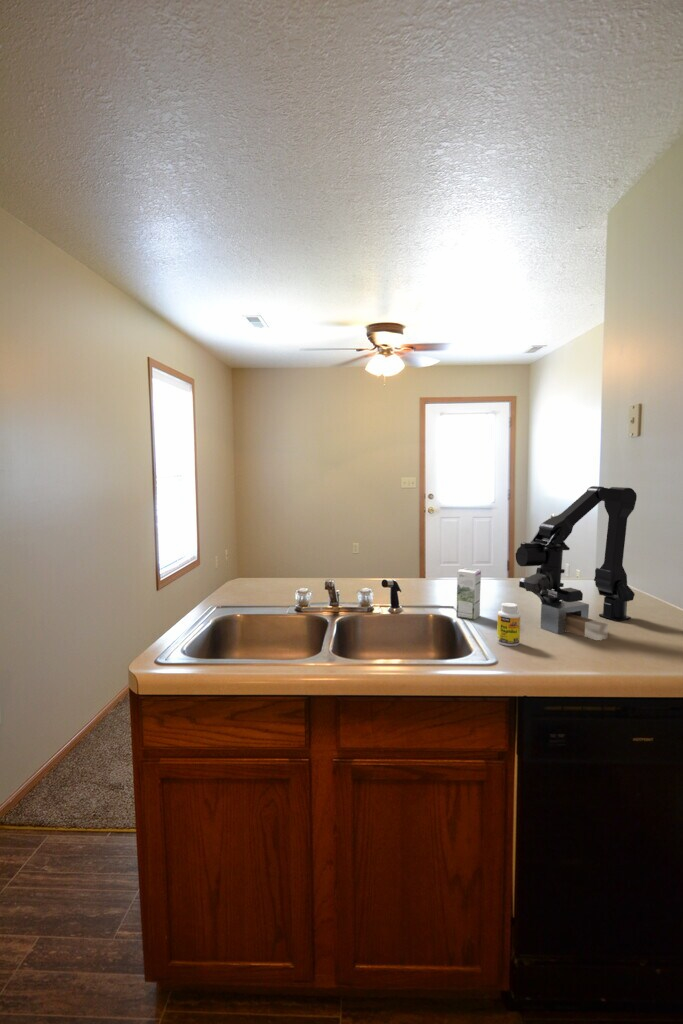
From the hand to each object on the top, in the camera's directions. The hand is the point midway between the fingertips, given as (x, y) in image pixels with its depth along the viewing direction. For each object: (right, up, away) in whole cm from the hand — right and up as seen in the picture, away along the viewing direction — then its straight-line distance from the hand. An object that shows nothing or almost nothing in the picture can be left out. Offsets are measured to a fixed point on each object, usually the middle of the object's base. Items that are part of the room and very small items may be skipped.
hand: (547, 617), depth 154 cm
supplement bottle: (-17, -3, -19) cm, 26 cm away
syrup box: (-22, -1, +6) cm, 23 cm away
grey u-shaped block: (+3, -2, -5) cm, 6 cm away
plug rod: (+5, -2, -8) cm, 10 cm away
